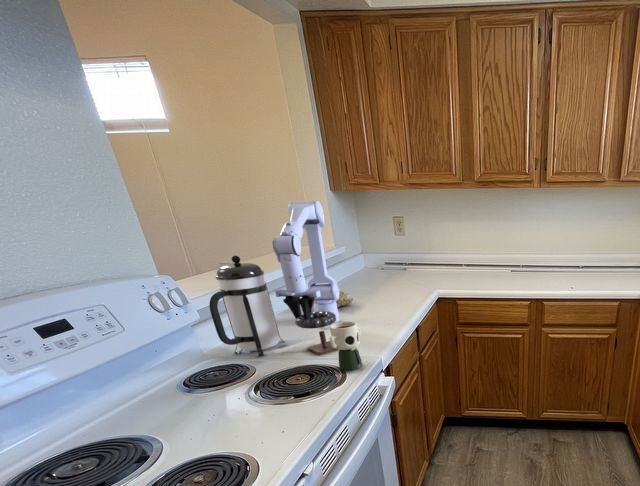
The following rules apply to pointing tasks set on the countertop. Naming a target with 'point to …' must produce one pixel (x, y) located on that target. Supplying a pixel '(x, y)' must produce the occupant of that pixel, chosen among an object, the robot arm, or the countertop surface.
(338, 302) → the sponge
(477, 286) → the countertop surface
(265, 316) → the coffee press
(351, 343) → the character mug
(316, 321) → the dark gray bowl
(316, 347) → the peg
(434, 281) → the countertop surface
